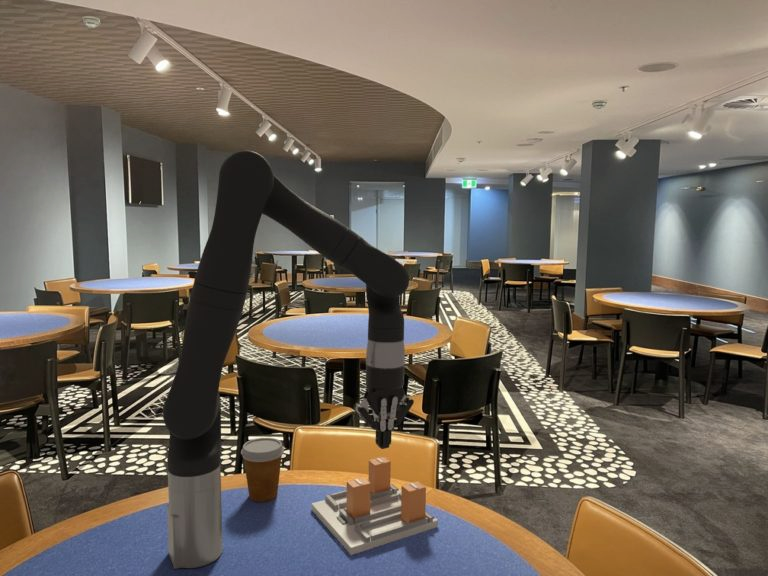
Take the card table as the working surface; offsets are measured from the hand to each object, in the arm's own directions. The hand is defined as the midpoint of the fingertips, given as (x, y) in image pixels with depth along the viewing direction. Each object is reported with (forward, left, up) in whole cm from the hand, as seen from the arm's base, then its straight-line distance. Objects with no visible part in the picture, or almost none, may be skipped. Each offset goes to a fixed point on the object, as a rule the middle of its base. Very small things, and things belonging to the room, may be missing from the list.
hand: (383, 447), depth 110 cm
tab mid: (-3, +5, -16) cm, 17 cm away
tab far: (+6, +12, -16) cm, 21 cm away
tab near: (+6, -2, -16) cm, 17 cm away
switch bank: (+1, +5, -18) cm, 19 cm away
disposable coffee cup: (-16, +26, -18) cm, 36 cm away
